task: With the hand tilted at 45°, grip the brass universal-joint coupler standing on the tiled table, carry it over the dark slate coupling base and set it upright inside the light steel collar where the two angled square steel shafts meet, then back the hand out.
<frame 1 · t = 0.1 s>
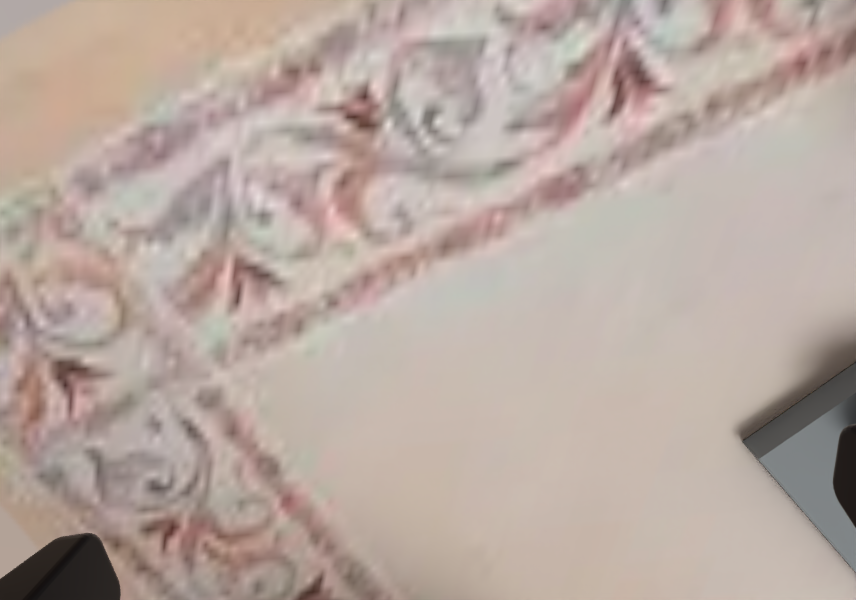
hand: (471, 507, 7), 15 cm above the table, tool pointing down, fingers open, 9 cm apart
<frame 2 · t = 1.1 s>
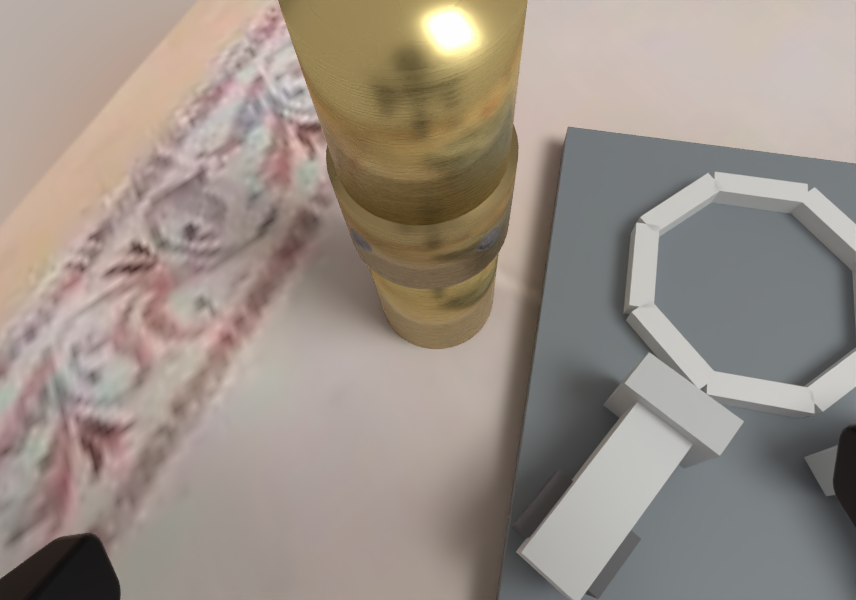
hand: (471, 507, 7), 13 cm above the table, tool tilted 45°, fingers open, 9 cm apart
coupling base: (735, 304, 22), on the table
coupler: (437, 296, 23), on the table
when the fingers open (9 cm above the table, at t = 7.4 s): coupler stays where it is, resting on coupling base.
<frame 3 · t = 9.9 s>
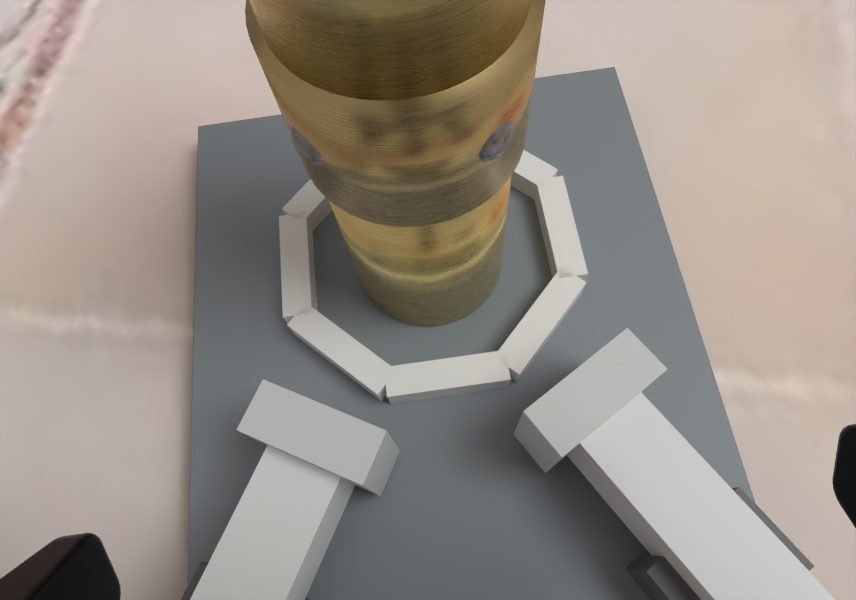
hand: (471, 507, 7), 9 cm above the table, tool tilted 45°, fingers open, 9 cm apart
coupling base: (431, 273, 19), on the table
coupler: (429, 259, 18), point 1 cm above the table, touching coupling base
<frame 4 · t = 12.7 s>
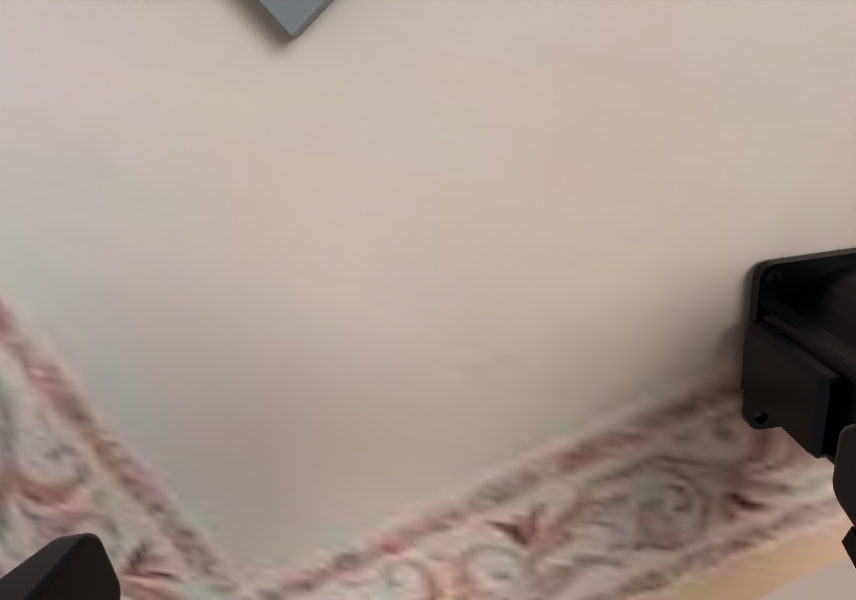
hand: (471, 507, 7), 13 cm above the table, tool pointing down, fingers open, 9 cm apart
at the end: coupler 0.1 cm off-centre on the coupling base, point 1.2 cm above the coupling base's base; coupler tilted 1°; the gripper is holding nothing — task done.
